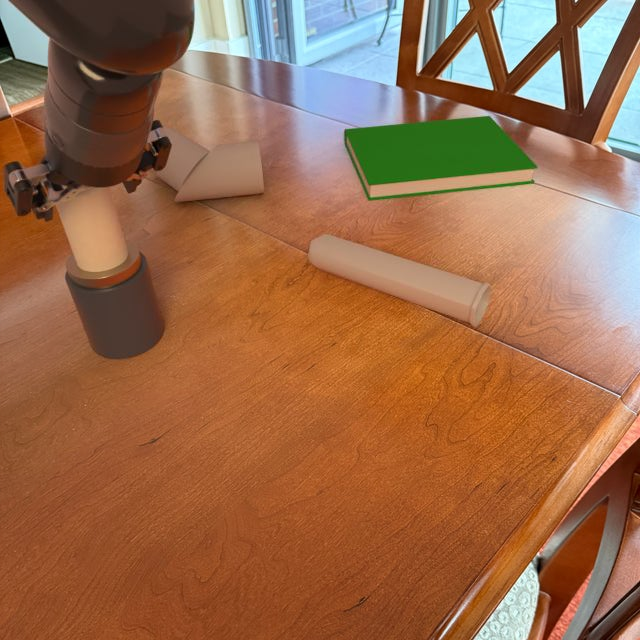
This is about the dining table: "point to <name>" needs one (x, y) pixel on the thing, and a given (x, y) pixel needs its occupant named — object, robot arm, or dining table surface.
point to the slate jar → (117, 306)
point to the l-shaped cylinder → (211, 169)
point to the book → (436, 157)
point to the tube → (401, 278)
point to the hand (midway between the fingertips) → (86, 197)
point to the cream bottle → (93, 229)
